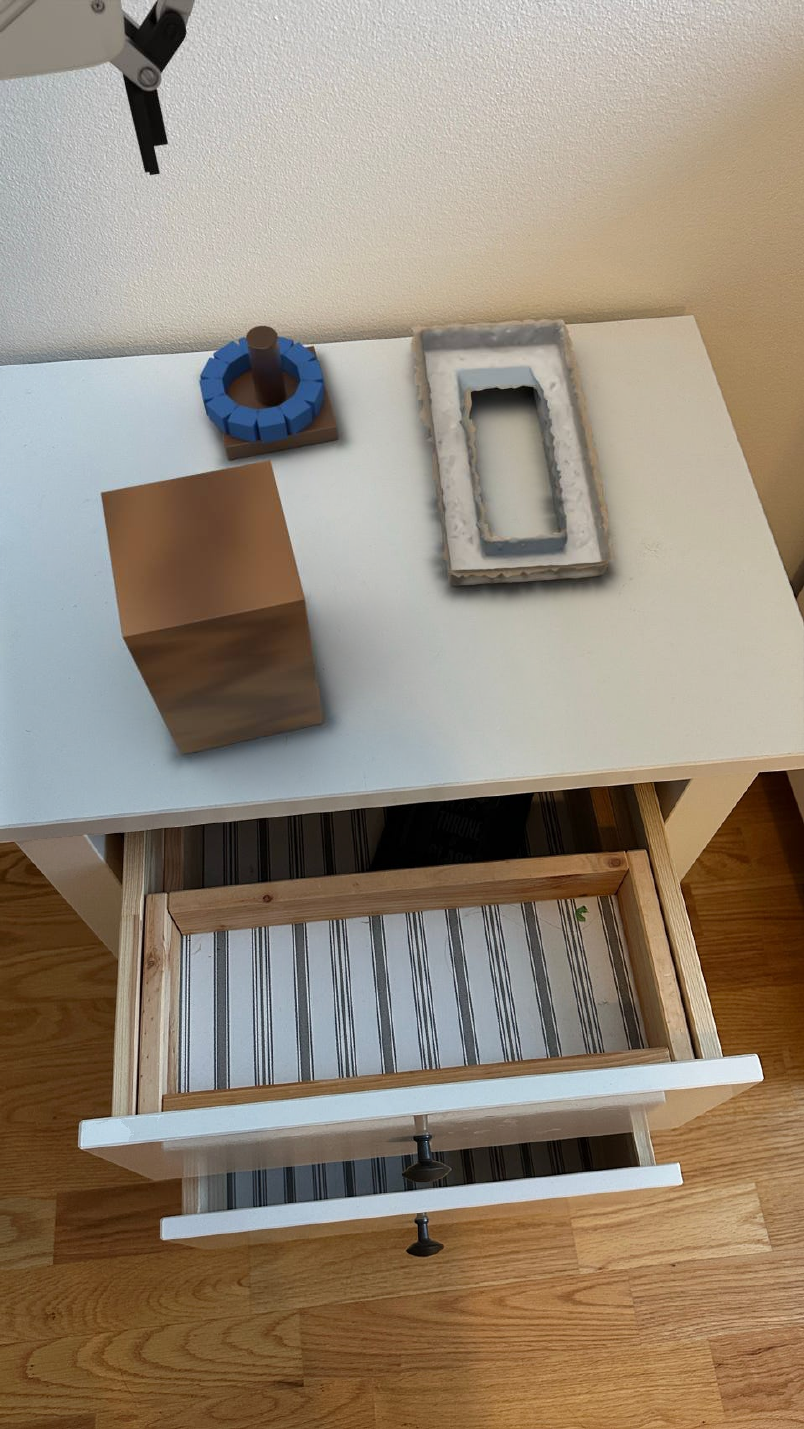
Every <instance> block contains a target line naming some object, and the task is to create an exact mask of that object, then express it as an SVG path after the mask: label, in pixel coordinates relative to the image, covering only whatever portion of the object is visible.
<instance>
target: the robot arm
mask: <svg viewBox="0 0 804 1429" xmlns="http://www.w3.org/2000/svg"><path fill="white" fill-rule="evenodd" d="M195 1H196V0H156V1H155V2H154V3H153V5H152V6H151V9H150V10H149V12H148V13H147V15H146V16H145V18H144V19H143V20H142V23H141V24H139V23H138V22H137V21H135V20H134V19H133V18H132V17H131V16H130V15H129V14H128V13H127V12H126V11H124V10H123V5H122V0H0V81H8V80H15V79H23V78H24V79H25V78H29V77H30V78H31V77H36V76H37V77H39V76H45V75H51V74H58V73H66V72H72V71H79V70H85V69H90V68H95V67H98V66H101V65H104V64H106V63H108V62H109V63H110V64H112V65H113V67H115V69H117V70H119V72H120V73H121V74H122V79H123V83H124V88H125V92H126V96H127V101H128V105H129V110H130V115H131V119H132V122H133V127H134V131H135V135H136V140H137V144H138V149H139V152H140V157H141V161H142V165H143V171H144V173H145V174H146V173H149V174H148V175H149V176H154V175H161V173H160V168H159V163H158V158H157V154H156V149H155V147H159V146H166V145H167V146H168V145H169V141H168V137H167V131H166V127H165V121H164V117H163V112H162V108H161V107H162V106H161V101H160V97H159V92H158V88H159V87H160V85H161V83H162V79H163V78H162V73H163V71H164V70H165V69H166V67H167V66H168V64H169V63H170V62H171V60H172V58H173V57H174V55H175V54H176V53H177V51H178V50H179V48H180V47H181V45H182V44H183V43H184V41H185V40H186V37H187V32H188V31H187V25H188V21H189V18H190V17H191V14H192V11H193V9H194V5H195Z"/></svg>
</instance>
